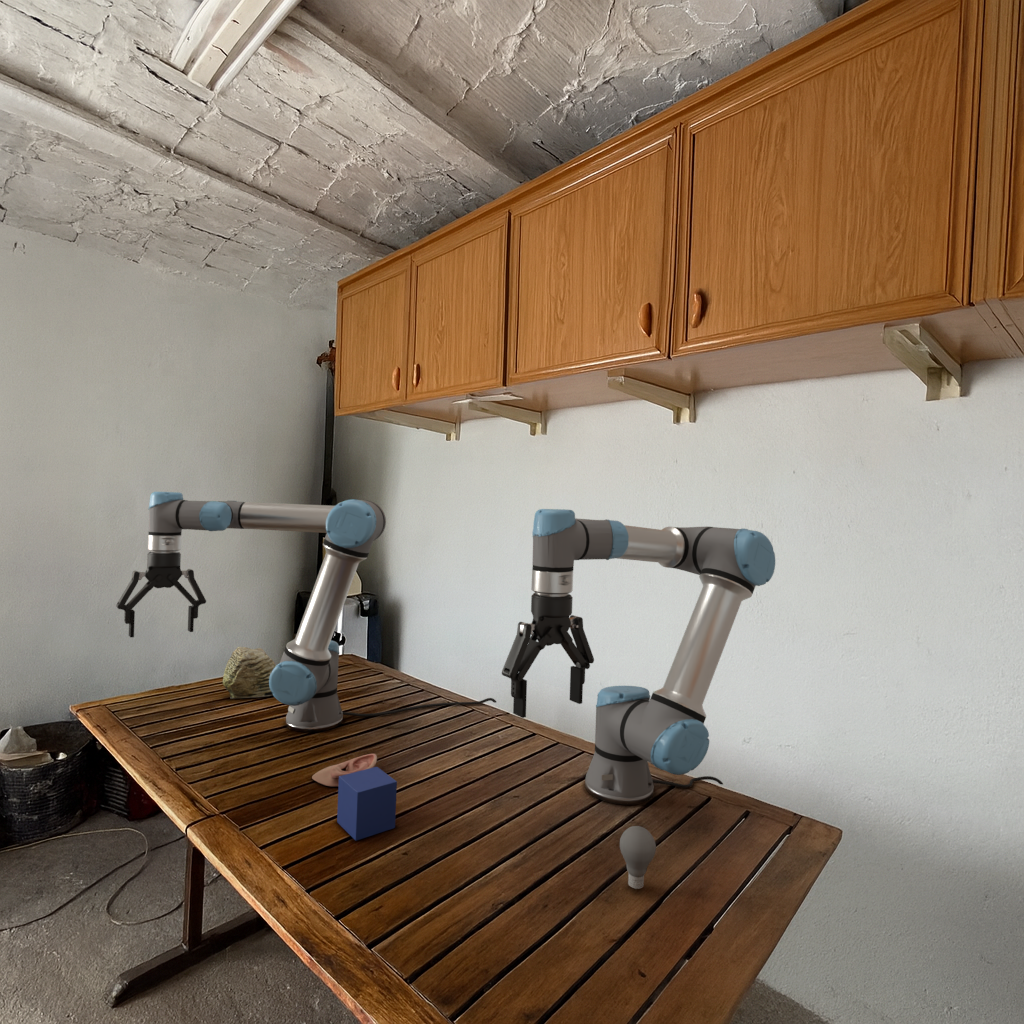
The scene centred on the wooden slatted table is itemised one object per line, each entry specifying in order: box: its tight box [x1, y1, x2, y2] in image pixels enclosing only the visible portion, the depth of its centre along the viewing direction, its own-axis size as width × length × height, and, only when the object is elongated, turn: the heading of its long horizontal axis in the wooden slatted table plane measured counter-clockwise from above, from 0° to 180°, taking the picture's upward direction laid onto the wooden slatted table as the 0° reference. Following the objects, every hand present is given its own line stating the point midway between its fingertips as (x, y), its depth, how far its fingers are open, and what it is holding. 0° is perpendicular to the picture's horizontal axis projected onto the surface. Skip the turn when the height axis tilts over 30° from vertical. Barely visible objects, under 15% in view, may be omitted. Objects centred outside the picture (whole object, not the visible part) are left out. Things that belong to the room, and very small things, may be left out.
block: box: [336, 766, 398, 842], centre depth 123 cm, size 8×8×9 cm
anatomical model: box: [311, 753, 378, 788], centre depth 144 cm, size 13×4×12 cm
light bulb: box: [619, 825, 657, 890], centre depth 107 cm, size 6×6×10 cm
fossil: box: [222, 646, 277, 699], centre depth 198 cm, size 9×18×15 cm, turn 132°
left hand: (161, 633), depth 163 cm, fingers open, 13 cm apart
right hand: (548, 708), depth 116 cm, fingers open, 13 cm apart
